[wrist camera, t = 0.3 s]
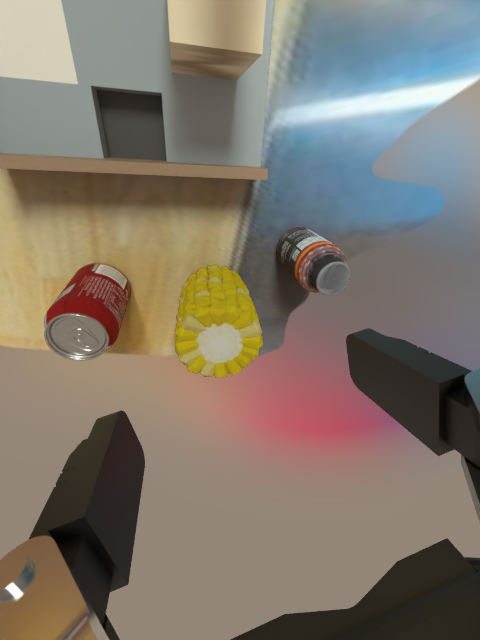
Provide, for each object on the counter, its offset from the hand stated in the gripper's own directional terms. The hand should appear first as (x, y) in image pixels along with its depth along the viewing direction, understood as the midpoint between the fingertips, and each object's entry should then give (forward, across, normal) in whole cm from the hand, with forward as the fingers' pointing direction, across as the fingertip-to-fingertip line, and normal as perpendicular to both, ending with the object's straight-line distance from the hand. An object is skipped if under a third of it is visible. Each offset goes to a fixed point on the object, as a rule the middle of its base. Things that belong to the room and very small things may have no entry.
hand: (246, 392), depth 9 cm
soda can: (+31, +12, -2) cm, 33 cm away
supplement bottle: (+29, -15, 0) cm, 33 cm away
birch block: (+22, -7, -21) cm, 31 cm away
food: (+31, -2, +3) cm, 31 cm away
